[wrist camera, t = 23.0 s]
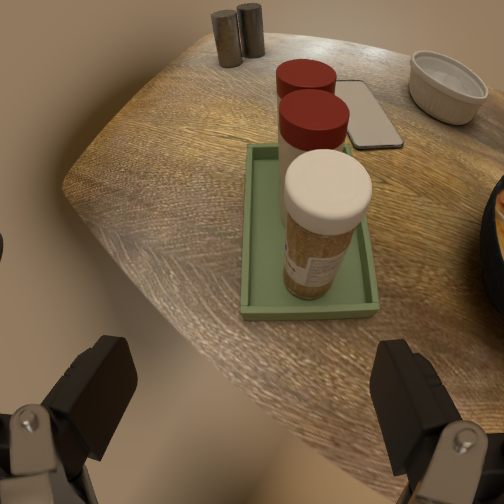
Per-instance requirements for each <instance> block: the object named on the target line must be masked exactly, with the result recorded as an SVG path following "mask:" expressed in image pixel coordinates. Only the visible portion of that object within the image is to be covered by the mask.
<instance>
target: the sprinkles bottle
mask: <svg viewBox="0 0 504 504" xmlns="http://www.w3.org/2000/svg"><path fill="white" fill-rule="evenodd" d="M371 196H372V182H371V179H370V177H369V174H368V173H367V171H366V169H365V168H364V167H363V166H362V165H361V164H360V163H359V162H358V161H357V160H356V159H354V158H353V157H351V156H349V155H347V154H345V153H342V152H339V151H336V150H329V149H318V150H312V151H309V152H306V153H304V154H302V155H300V156H298V157H297V158H296V159H295V160H294V161H293V162H292V163H291V164H290V166H289V167H288V169H287V172H286V175H285V184H284V201H285V205H286V208H287V227H286V235H285V253H284V268H283V281H284V284H285V286H286V288H287V289H288V290H289V292H290V293H292V294H293V295H294V296H296V297H298V298H301V299H305V300H313V299H317V298H320V297H322V296H323V295H325V294H326V293H327V292H328V291H329V289H330V288H331V286H332V283H333V280H334V277H335V276H336V274H337V272H338V270H339V268H340V266H341V264H342V261H343V259H344V257H345V255H346V252H347V250H348V248H349V246H350V243H351V241H352V236H353V234H354V232H355V229H356V226H357V225H358V224H359V223H360V222H361V221H362V219H363V217H364V215H365V213H366V211H367V208H368V205H369V203H370V200H371Z"/></svg>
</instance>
